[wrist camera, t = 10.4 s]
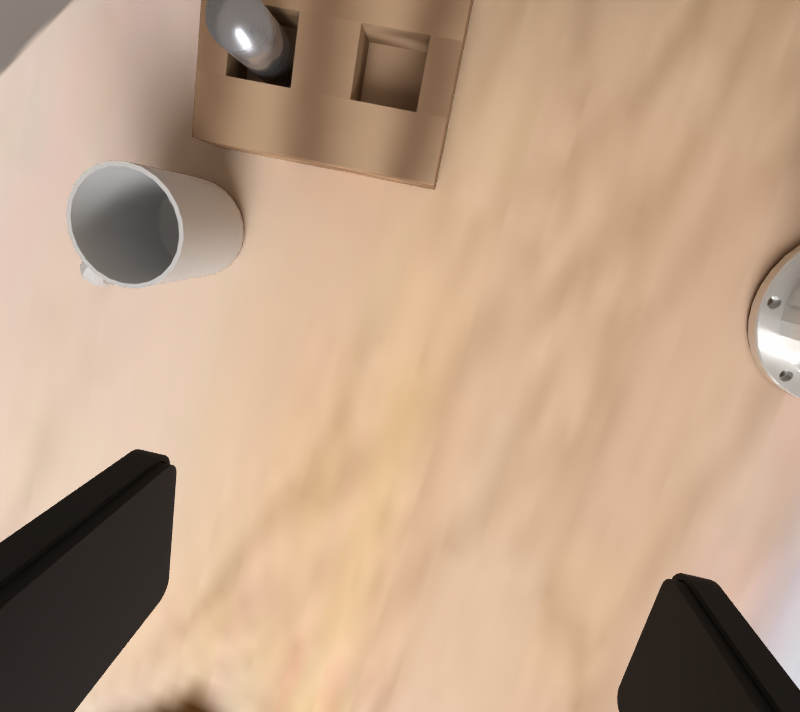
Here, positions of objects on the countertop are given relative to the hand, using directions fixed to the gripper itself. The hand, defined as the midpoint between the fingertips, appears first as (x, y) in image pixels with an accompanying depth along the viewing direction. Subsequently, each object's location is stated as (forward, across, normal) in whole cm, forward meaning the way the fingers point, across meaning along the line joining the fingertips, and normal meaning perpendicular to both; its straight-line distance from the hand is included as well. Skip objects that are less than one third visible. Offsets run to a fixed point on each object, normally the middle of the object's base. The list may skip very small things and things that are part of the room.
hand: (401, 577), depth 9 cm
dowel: (+27, +14, -15) cm, 34 cm away
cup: (+28, +20, -2) cm, 35 cm away
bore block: (+28, +10, -15) cm, 34 cm away
